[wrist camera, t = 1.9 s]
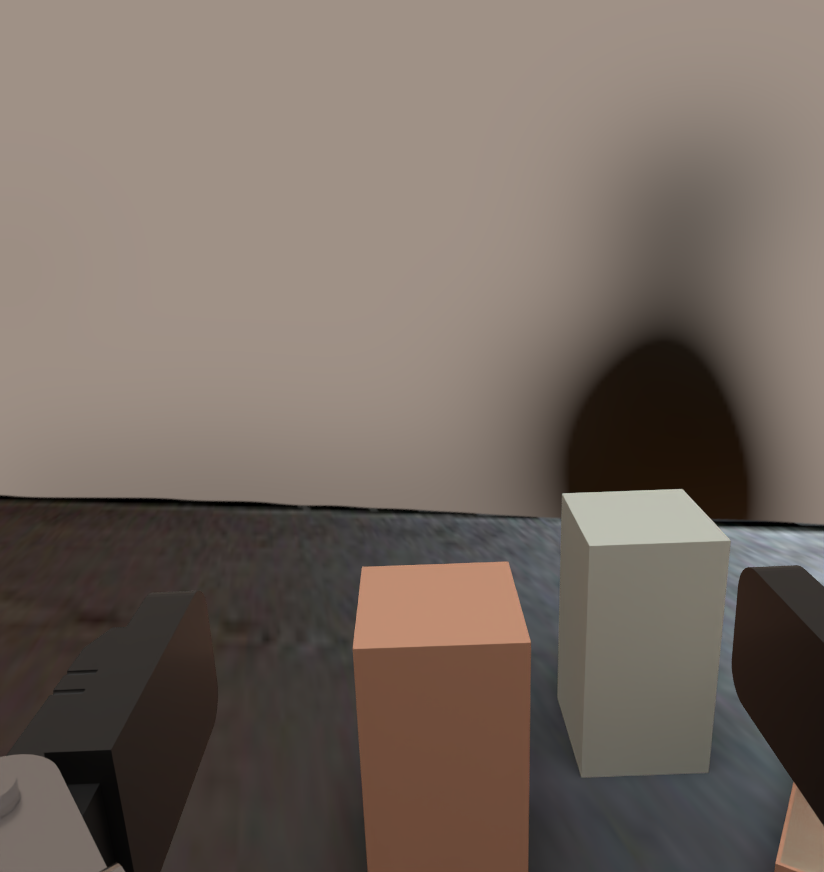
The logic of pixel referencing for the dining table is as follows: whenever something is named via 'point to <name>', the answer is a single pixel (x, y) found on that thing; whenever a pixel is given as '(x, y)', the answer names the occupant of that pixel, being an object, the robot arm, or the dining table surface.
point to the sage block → (639, 631)
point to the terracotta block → (443, 718)
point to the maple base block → (800, 838)
